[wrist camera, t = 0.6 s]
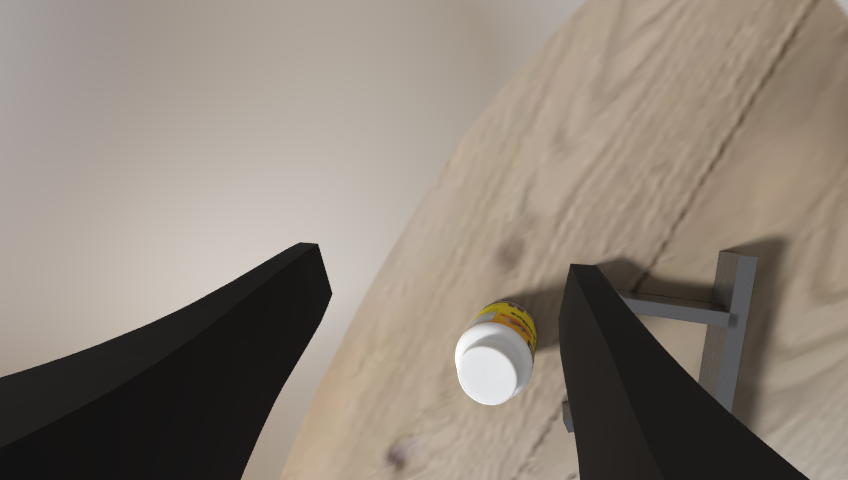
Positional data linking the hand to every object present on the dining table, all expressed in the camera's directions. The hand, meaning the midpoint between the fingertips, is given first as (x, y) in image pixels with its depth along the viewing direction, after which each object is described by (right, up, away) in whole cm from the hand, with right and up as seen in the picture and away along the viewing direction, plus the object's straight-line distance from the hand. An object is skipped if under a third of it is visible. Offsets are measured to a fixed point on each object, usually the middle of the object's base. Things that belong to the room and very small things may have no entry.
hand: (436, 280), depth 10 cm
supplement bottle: (+7, -7, +22) cm, 25 cm away
